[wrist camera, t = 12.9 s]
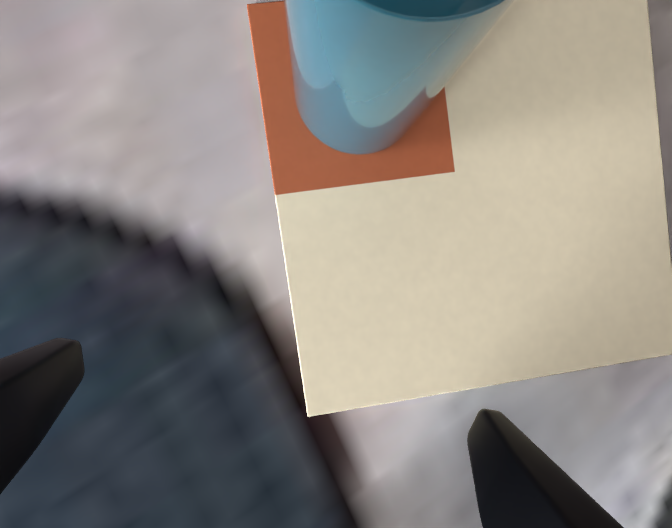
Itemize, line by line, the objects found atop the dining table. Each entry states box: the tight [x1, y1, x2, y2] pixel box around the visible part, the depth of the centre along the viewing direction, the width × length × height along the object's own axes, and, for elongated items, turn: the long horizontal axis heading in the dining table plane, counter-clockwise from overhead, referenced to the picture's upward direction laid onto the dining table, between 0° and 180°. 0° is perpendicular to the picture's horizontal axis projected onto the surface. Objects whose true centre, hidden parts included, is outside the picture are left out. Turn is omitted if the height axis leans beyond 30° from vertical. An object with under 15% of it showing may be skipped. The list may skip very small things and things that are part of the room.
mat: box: [247, 0, 672, 417], centre depth 18 cm, size 20×20×1 cm
